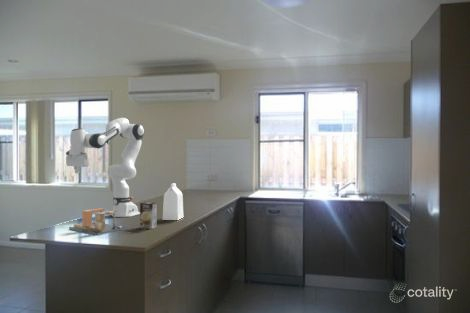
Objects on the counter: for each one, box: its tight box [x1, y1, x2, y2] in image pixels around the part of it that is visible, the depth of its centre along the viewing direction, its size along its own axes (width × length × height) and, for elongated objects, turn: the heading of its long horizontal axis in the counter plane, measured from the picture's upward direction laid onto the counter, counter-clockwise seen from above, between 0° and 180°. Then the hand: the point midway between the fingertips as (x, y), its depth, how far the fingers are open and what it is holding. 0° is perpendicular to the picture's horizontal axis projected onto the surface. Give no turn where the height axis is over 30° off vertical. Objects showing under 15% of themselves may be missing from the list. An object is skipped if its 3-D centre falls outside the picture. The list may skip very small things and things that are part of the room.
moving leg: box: [81, 207, 105, 227], centre depth 218 cm, size 13×4×10 cm, turn 147°
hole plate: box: [68, 220, 126, 236], centre depth 219 cm, size 20×28×2 cm
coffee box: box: [139, 201, 158, 230], centre depth 225 cm, size 9×6×16 cm
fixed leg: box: [73, 210, 116, 232], centre depth 217 cm, size 13×26×11 cm, turn 57°
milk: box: [162, 182, 185, 221], centre depth 254 cm, size 12×12×26 cm
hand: (77, 173), depth 233 cm, fingers closed
